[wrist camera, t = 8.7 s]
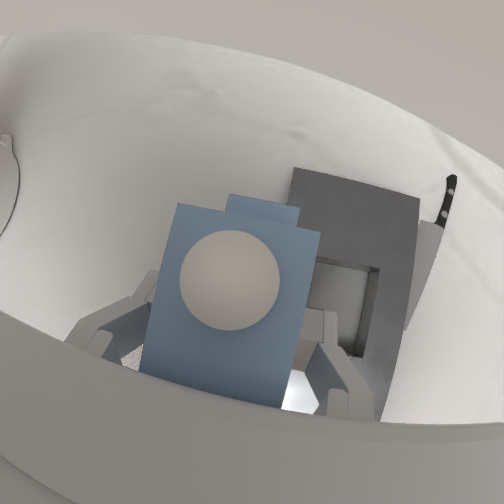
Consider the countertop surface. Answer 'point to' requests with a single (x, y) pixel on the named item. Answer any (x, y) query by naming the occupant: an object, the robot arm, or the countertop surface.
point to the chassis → (360, 258)
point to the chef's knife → (428, 249)
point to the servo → (231, 300)
